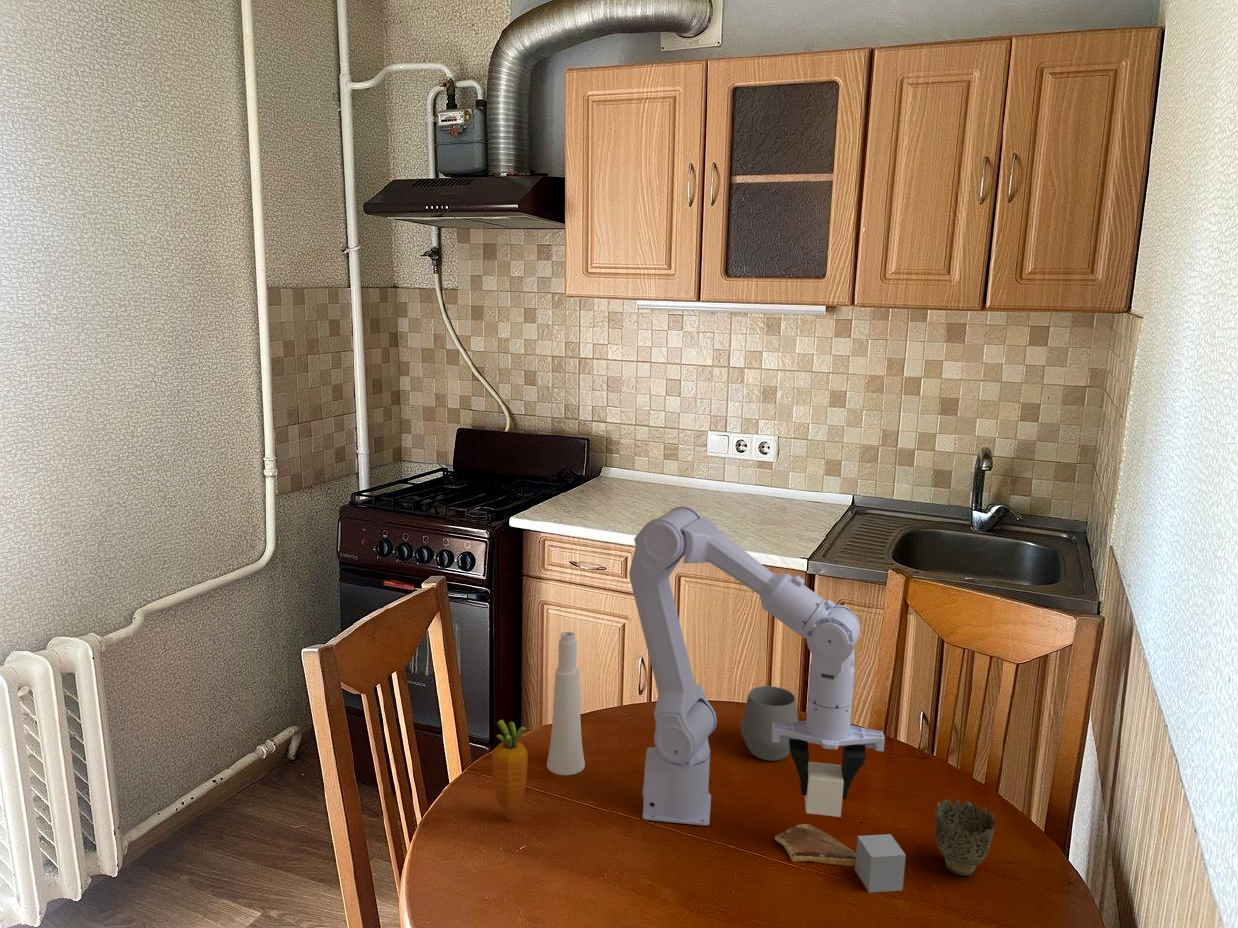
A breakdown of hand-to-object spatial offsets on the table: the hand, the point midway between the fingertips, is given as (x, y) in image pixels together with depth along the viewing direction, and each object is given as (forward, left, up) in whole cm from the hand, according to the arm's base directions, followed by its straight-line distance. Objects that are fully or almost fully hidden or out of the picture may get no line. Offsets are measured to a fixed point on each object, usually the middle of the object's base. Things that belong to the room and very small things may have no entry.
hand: (823, 793), depth 121 cm
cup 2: (+18, -2, -8) cm, 20 cm away
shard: (0, 0, -9) cm, 9 cm away
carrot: (-43, -1, -8) cm, 44 cm away
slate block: (+7, -6, -8) cm, 12 cm away
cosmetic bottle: (-38, +15, -8) cm, 42 cm away
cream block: (0, 0, -2) cm, 2 cm away
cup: (-6, +25, -8) cm, 27 cm away
